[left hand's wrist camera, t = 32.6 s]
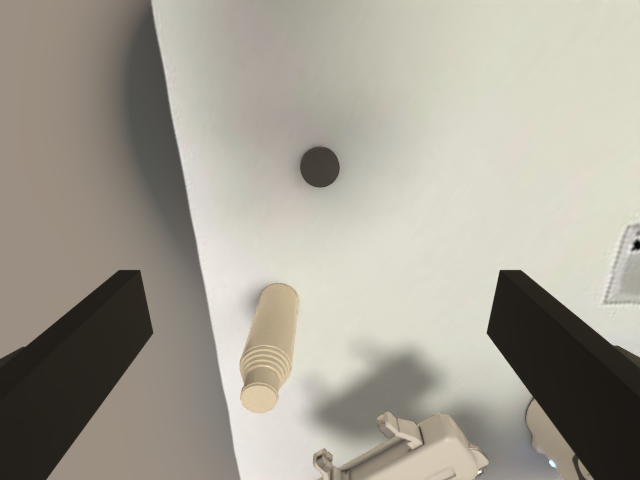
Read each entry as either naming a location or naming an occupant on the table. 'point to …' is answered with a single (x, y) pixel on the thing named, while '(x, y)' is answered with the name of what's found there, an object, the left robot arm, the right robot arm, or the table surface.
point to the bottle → (269, 348)
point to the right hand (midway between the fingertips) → (348, 438)
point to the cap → (320, 167)
